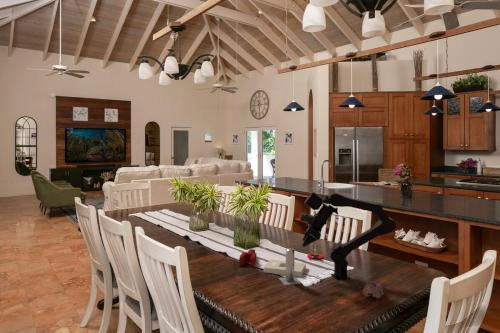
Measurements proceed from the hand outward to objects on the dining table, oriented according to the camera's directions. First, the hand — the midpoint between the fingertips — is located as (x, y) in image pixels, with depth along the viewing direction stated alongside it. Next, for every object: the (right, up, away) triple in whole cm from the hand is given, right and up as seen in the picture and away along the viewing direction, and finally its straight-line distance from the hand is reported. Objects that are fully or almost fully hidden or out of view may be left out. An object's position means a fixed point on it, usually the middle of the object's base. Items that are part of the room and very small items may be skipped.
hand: (303, 243), depth 163 cm
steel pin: (-7, -15, -6) cm, 18 cm away
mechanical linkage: (-25, -14, +20) cm, 35 cm away
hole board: (-8, -15, +7) cm, 18 cm away
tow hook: (+10, -14, +27) cm, 32 cm away
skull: (+26, -17, -21) cm, 37 cm away
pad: (-7, -15, -6) cm, 18 cm away
